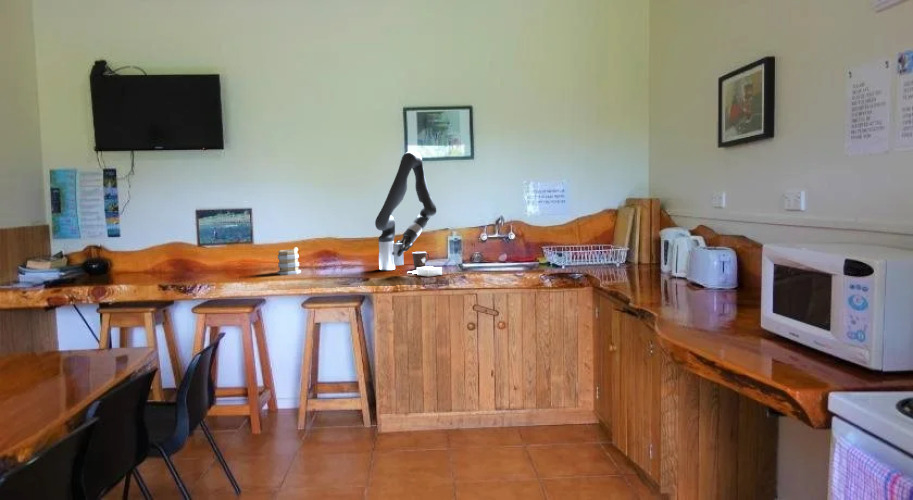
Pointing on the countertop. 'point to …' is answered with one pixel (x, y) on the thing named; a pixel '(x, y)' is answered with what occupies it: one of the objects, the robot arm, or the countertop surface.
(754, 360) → the countertop surface
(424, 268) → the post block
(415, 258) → the coffee mug
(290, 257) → the tankard
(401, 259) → the grey rectangular block
